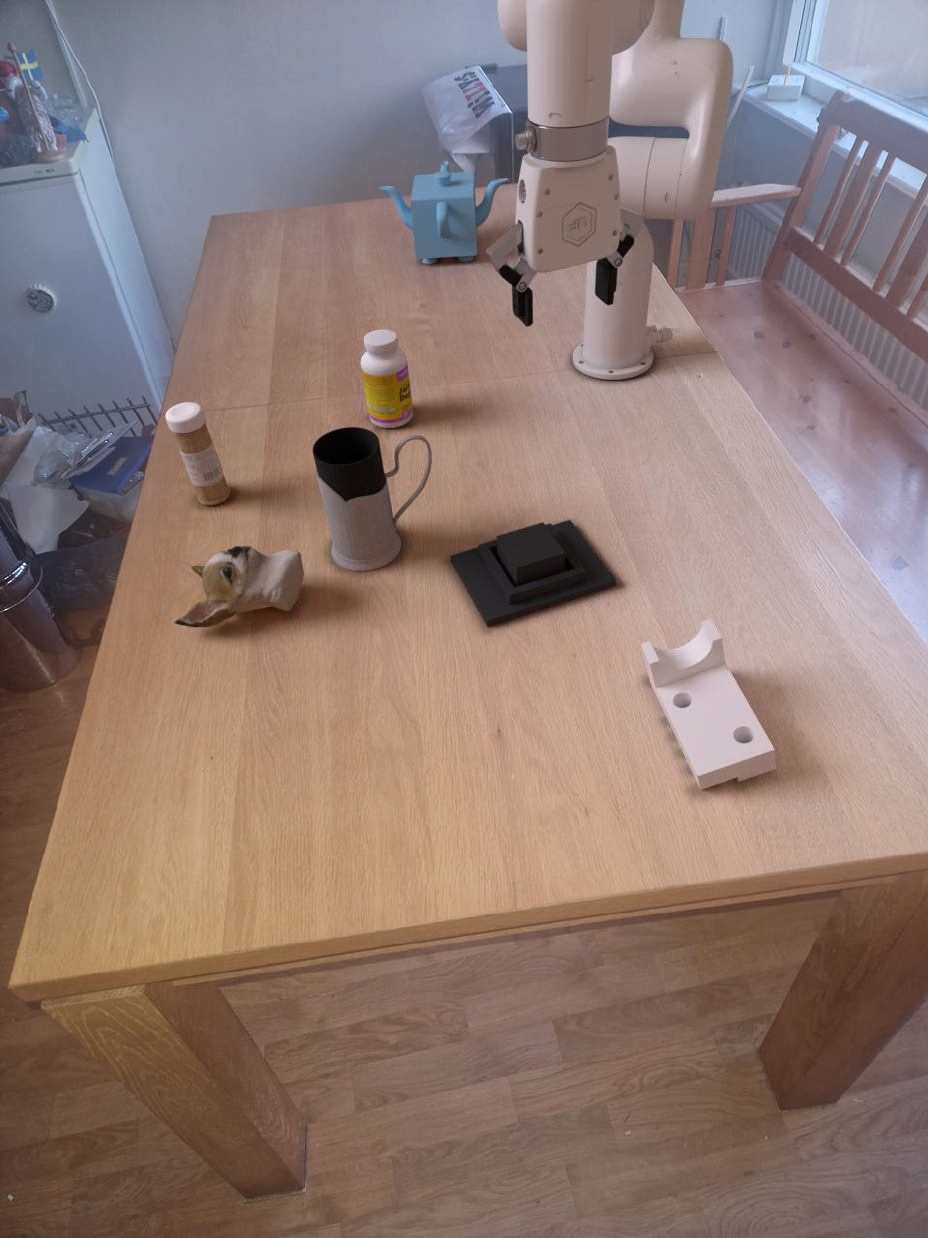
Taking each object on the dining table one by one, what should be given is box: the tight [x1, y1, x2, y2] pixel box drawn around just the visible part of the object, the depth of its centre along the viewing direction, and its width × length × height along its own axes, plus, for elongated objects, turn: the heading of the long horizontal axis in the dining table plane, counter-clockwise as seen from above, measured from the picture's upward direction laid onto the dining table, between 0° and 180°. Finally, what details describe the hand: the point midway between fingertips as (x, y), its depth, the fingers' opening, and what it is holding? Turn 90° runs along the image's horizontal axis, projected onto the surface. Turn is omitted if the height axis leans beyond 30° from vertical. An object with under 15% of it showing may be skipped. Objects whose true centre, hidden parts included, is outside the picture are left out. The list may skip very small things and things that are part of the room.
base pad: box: [449, 519, 617, 628], centre depth 94 cm, size 16×12×2 cm
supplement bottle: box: [360, 328, 414, 429], centre depth 115 cm, size 7×7×13 cm
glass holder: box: [312, 426, 433, 572], centre depth 95 cm, size 9×14×15 cm, turn 113°
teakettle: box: [378, 160, 509, 265], centre depth 157 cm, size 19×19×15 cm
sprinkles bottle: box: [164, 401, 231, 506], centre depth 104 cm, size 5×5×13 cm
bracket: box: [640, 618, 777, 791], centre depth 75 cm, size 13×7×8 cm, turn 11°
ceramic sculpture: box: [173, 545, 305, 628], centre depth 91 cm, size 11×9×15 cm
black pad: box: [495, 521, 565, 587], centre depth 92 cm, size 6×6×4 cm
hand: (564, 310), depth 88 cm, fingers open, 9 cm apart
